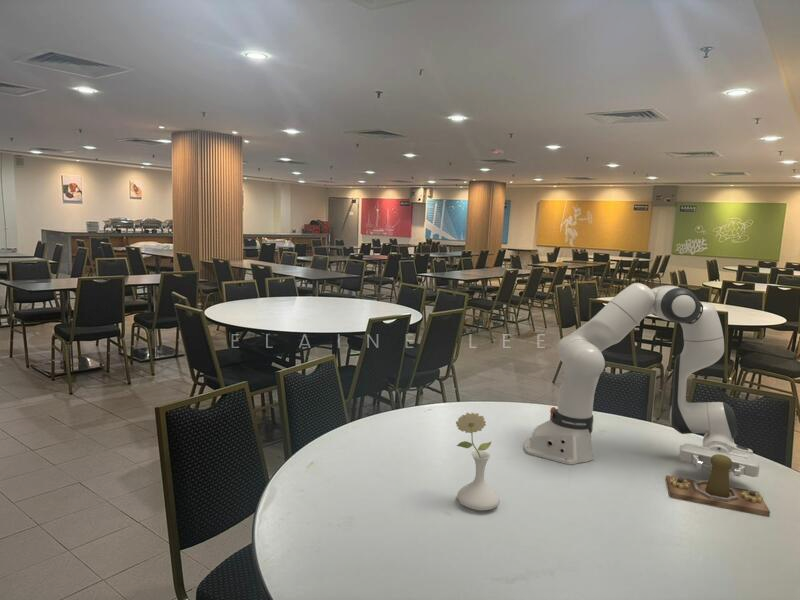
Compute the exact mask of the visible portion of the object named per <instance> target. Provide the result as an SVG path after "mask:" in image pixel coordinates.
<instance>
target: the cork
mask: <svg viewBox="0 0 800 600" xmlns="http://www.w3.org/2000/svg"><path fill="white" fill-rule="evenodd" d="M711 464H712V467H710V468H711V469H710V473H709V476H708V479H707V481H708V482H707V486H706V489H705V491H706V492H707V493H708V494H710V495H713V496H718V497H723V498H728V497H730V491H729V486H730V472H729V469H730V468H731V467H732V461H731V459H730V458H729V457H727V456H725V455H720V454H716V455H713V456H712V457H711Z"/></svg>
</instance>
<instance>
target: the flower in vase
mask: <svg viewBox="0 0 800 600" xmlns="http://www.w3.org/2000/svg"><path fill="white" fill-rule="evenodd" d="M485 419H486V418H485V417H484V415H480V414H479V413H478V412H476V413H474V412H471V413H469V412H466V413H465V414H462V415H461V416H459V417H458V419H457V420H456V421H455V425H456V427H457V429H458V430H459V431H461V432H465V434H466V433H468V434H469V433H470V435H471V442H469V441H467V440H466V441H465V440H464V441H461V442H459V443H458V444H456V447H461V448H464V449H470V448H471V447H472V446H473V448H474V450H475V451H473V452H472V453H471V456H472V458H473V459H474V463H475V477H474V479H473V480H472V481H471V482H469V483H467V484H465V485H463V487H461V488H460V489H459V490H458V492H457V493H456V498H457V500H458V501H459V503H460V504H461V505H463V506H464V507H467V508H469V509H470V510H471V509H472V510H475V511H490V510H493V509H495V508H496V507H497V506H499V504H500V502H501V499H500V496H499V494H498V493H497V491H496V490H495V489H493V488H492V487H491V486H490V485H489V484H488V483H487V482H486V480H485V469H486V466H487V462H488V461H489V460H490V458H491V457H492V455H491V453H489V452H486V450H488V449H489V447H490V446H491V444H492V441H488V442H483V443H481V444H480V445H478V448H477V447H476V446H475V443H474V440H473V438H474V437H473V433H477V432H481V431H482V429H484V428H485V426H487V423H486V420H485Z"/></svg>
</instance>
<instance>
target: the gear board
mask: <svg viewBox="0 0 800 600" xmlns="http://www.w3.org/2000/svg"><path fill="white" fill-rule="evenodd" d="M707 482H708V480H705V479H703V480H697V479H695V480H694V479H690V478H684V477H681V476H673V475H669V474H668V475H667V474H666V475H665V483H666V486H667V490H668V495H669V498H670V497H671V498H670V499H675V500H680V499H681V501H685V502H690V503H691V502H692V503H697V504H700V505H701V504H702V505H707V506H712V507H715V508H716V507H717V508H722V509H727V510H733V511H738V512H744V513H748V514H754V515H759V516H763V517H768V518H769V517H770V515H771V510H770V509H769V507H768V505H767V503H766V501H765V500H764V497H763V495H761V494H760V492H759V491H756V490H752V489H751V490H750V489H745V488H740V487H734V486H730V485H729V491H730V497H728V498H723V497H718V496H713V495H710V494H708V493H707V492H706V491H705V489H706V486H707Z"/></svg>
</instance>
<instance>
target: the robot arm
mask: <svg viewBox="0 0 800 600" xmlns="http://www.w3.org/2000/svg"><path fill="white" fill-rule="evenodd" d="M649 315H653V316H655V317H658V318H660V319H661V320H665V321H669V322H674V323H678V324H680V326H681V329H682V333H683V334H682V335H683V349H682V351H681V353H680V354H677V355H676V357H675V359H674V360H675V361H674V365H673V381H672V400H671V407H670V411H669V421H670V425H671V427H672V429H674V430H675V431H676V432H678V433H679V434H681V435H687V434H688V435H689V434H704V436H703V440H702V445H698V444H692V443H683V444H682V445H680V446H679V460H680V461H682V462H685V463H689V464H693V465H695V467H696V468H699V469H702V467H706V468H707V467H708V468H712V464H711V457H712V456H713V455H716V454H720V455H725V456H727V457H729V458H730V459H731V461H732V467H731V468H730V469H729V473H733V476H734V477H738V478H739V477H741V476H742V475H743V476H747V477H753V478H758V477H759V473H760V464H759V463H760V462H759V460H758V458H757V457H756V456H755V455H754V451H753V450H752V449H751V448H748V447H745V446H741V445H738V444H736V443H735V441H734V439H735V438H736V436H737V435H738V424H737V418H736V413H735V411H734V409H733V408H732V407H731V406H730V405H729V404H728V403H727V402H724V401H723V402H722V401H708V402H707V401H706V402H688V401H687V400H686V399H687V396H686V395H687V385H688V384H687V382H688V378H689V376H690V375H692V374H693V373H696V372H698V371H700V370H702V369H705V368H708V367H710V366H712V365H714V364H715V363H717V362H718V361H719V360H720V359H721V358H722V357H723V355H724V353H725V339H724V338H725V337H724V333H723V332H724V331H723V327H722V323H721V320H720V316H719V314H718V311H717V309H716V308H715V306H713V305H712V304H710V303H707V302H701V301H700V300H699V299H698V297H697V296H696V294H695V293H693V292H692V291H691V290H689V289H687V288H684V287H679V286H677V285H666V284H665V285H663V284H662V285H657V286H654V287H651V288H650V286H648V285H646V284H643V283H640V282H634V283H631V284H630V285H628V286H627V287H625V288H624V289H623V290H621V291H620V292H618V294H616V295H615V296H614V297H613V298H612V299H611V300H610V301H609V302H607V303H606V304H605V305H604V307H602V308H601V310H599V311H598V312H597V313H596V314H595V315H594V316H592V318H591V319H590V320H589V321H587V322H585V323H584V324H583V325H581V326H579V327H578V328H577V329H576V330H574V331H573V332H572V333H570V334H568V335H566V336H564V337H562V338H561V339H560V340H559V342H558V343H557V348H556V349H557V354H558V358H559V360H560V361H561V362H562V364H563V365H564V375H563V378H562V381H561V385H560V386H559V388H558V398H557V407H554V406H553V407H550V410H549V412H550V416H549V417H550V418H549V420H547V421H545V422H543V423H541V424H539V425H538V426H537V425H536V427H535V428H534V429H533V432H532V435H531V437H529V438H527V439H526V440H525V441H524V442H523V443H524V444H523V450H524V452H525V453H526V454H528V455H531V456H536V457H540V458H543V459H547V460H549V461H550V460H551V461H555V462H558V463H563V464H566V465H569V466H570V465H576V464H578V463H579V464H581V463H587V462H591V461H592V460H593V459H594V457H595V456H594V453H593V445H592V432H593V429H594V421H595V420H594V414H593V412H594V411H593V410H594V401H595V400H594V399H595V394H596V388H597V385H598V382H599V379H600V375H601V374H602V373H603V372H604V369H605V366H606V361H605V358H604V355H603V353H602V352H603V351H604V350H606V349H607V348H609V347H611V346H613V345H616V344H618V343H620V342H621V341H622V340H623V339H624V338H625V337H626V336H628V335H629V334H630V332H631V331H632V330H634V329H635V327H636V326H638V325H639V324H640V323H641V322H642V320H643V319H645V318H646V317H648V316H649Z"/></svg>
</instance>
